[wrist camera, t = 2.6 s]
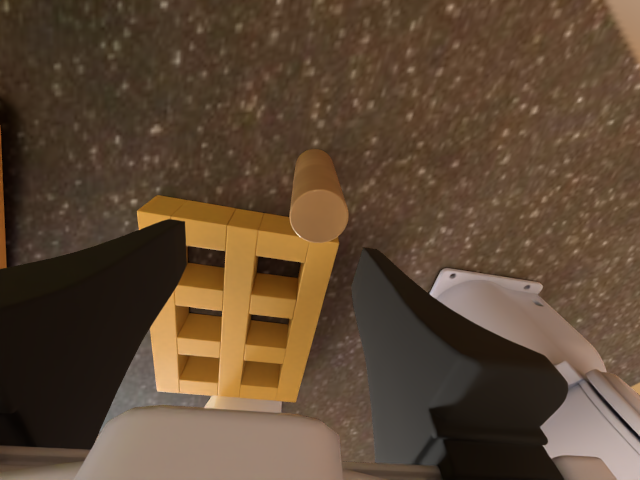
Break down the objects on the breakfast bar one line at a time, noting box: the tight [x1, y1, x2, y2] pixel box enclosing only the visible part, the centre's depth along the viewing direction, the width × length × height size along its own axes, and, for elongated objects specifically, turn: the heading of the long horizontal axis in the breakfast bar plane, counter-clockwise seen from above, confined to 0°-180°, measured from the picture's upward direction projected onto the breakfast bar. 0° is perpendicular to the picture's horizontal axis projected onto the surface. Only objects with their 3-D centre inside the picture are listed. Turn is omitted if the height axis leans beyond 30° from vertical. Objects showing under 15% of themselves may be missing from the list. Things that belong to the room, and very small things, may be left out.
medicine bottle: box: [204, 396, 282, 413], centre depth 27 cm, size 7×7×12 cm
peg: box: [289, 149, 349, 243], centre depth 16 cm, size 3×3×8 cm
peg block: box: [137, 195, 339, 402], centre depth 24 cm, size 13×18×3 cm
